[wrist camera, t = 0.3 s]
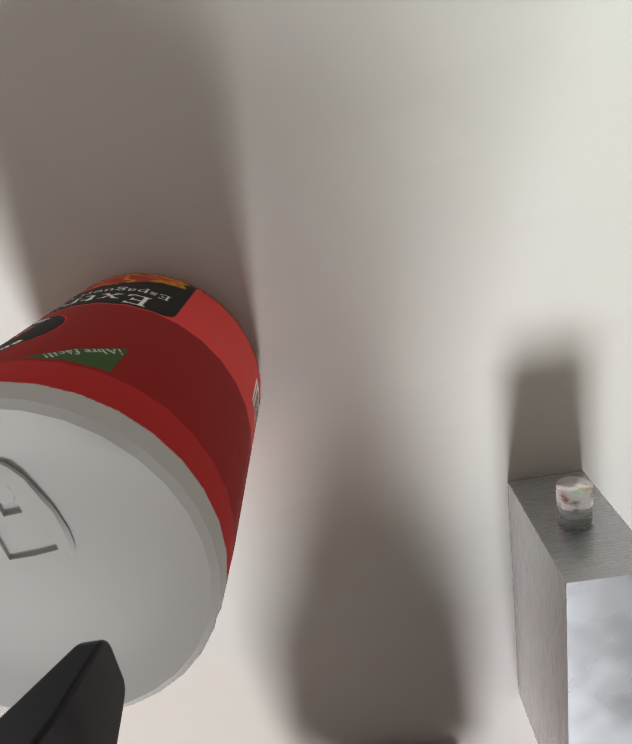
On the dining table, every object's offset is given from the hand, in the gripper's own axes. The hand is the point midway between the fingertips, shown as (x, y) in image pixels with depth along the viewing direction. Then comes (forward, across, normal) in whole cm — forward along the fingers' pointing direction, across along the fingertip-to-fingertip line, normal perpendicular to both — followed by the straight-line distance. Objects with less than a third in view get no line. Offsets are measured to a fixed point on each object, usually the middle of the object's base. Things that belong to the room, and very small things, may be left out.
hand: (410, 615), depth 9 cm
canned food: (+14, +7, 0) cm, 16 cm away
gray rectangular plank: (+14, -7, +13) cm, 21 cm away
